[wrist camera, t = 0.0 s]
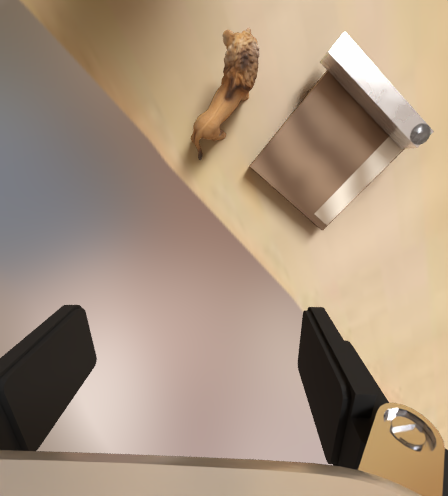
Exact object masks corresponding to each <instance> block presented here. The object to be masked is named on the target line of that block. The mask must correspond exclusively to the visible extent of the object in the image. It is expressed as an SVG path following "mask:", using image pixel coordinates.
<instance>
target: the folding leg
mask: <svg viewBox="0 0 448 496" xmlns="http://www.w3.org/2000/svg"><path fill="white" fill-rule="evenodd" d="M320 63H321V64H322V65H323V66H324V67H325V68H326V69H327V70H328V71H329V73H330V74H331V75H332V76H333V77H334V78H335V79H336V80H337V81H338V82H339V83H340V84H341V85H342V86H343V87H344V88H345V90H346V91H347V92H348V93H349V94H350V95H351V96H352V97H353V98H354V99H355V100H356V101H357V102H358V103H359V104H360V105H361V107H362V108H363V109H364V110H365V111H366V112H367V113H368V114H369V115H370V116H371V117H372V118H373V119H374V120H375V121H376V122H377V124H378V125H379V126H380V127H381V128H382V129H383V130H384V131H385V132H386V133H387V134H388V135H389V136H390V137H391V138H392V139H393V141H394V142H395V143H396V144H397V145H398V146H399V147H400V148H401V149H408V148H417V147H418V146H419V145H420V144H423V143H424V142H426V141H427V139H428V138H429V136H430V135H431V134H432V133H433V132H434V131H433V130H432V129H431V128H430V127H429V126H428V124H427V123H426V122H425V121H424V120H423V119H422V118H421V117H420V115H419V114H418V113H417V112H416V111H415V110H414V109H413V108H412V106H411V105H410V104H409V103H408V102H407V101H406V100H405V99H404V97H403V96H402V95H401V94H400V93H399V92H398V91H397V89H396V88H395V87H394V86H393V85H392V84H391V83H390V82H389V80H388V79H387V78H386V77H385V76H384V75H383V74H382V73H381V71H380V70H379V69H378V68H377V67H376V66H375V65H374V64H373V62H372V61H371V60H370V59H369V58H368V57H367V56H366V55H365V53H364V52H363V51H362V50H361V49H360V48H359V47H358V46H357V44H356V43H355V42H354V41H353V40H352V39H351V38H350V37H349V35H348V34H347V33H346V32H344V33H343V34H342V35H341V36H340V38H339V39H338V40H337V41H336V42H335V43H334V45H333V46H332V47H331V49H330V50H329V51H328V52H327V54H326V55H325V56H324V57H323V59H322V60H321V61H320Z"/></svg>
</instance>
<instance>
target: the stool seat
mask: <svg viewBox="0 0 448 496" xmlns="http://www.w3.org/2000/svg"><path fill="white" fill-rule="evenodd" d="M403 150H404V149H401V148H400V147H399V146H398V145H397V144H396V143H395V142H394V141H393V139H392V138H391V137H390V136H389V135H388V134H387V133H386V132H385V131H384V130H383V129H382V128H381V127H380V126H379V125H378V124H377V122H376V121H375V120H374V119H373V118H372V117H371V116H370V115H369V114H368V113H367V112H366V111H365V110H364V109H363V108H362V107H361V105H360V104H359V103H358V102H357V101H356V100H355V99H354V98H353V97H352V96H351V95H350V94H349V93H348V92H347V91H346V90H345V88H344V87H343V86H342V85H341V84H340V83H339V82H338V81H337V80H336V79H335V78H334V77H333V76H332V75H331V74H330V73H329V71H328V70H327V71H326V72H325V73H324V75H323V76H322V77H321V78H320V80H319V81H318V82H317V83H316V85H315V86H314V87H313V88H312V89H311V91H310V92H309V93H308V94H307V96H306V97H305V98H304V99H303V101H302V102H301V103H300V104H299V106H298V107H297V108H296V109H295V110H294V112H293V113H292V114H291V115H290V117H289V118H288V119H287V120H286V122H285V123H284V124H283V125H282V127H281V128H280V129H279V130H278V131H277V133H276V134H275V135H274V136H273V138H272V139H271V140H270V141H269V143H268V144H267V145H266V146H265V148H264V149H263V150H262V151H261V152H260V154H259V155H258V156H257V157H256V159H255V160H254V161H253V162H252V164H251V165H250V167H251V168H252V169H253V170H254V171H255V172H256V173H258V174H259V175H260V176H261V177H262V178H263V179H264V180H265V181H267V182H268V183H269V184H270V185H271V186H272V187H273V188H275V189H276V190H277V191H278V192H279V193H280V194H281V195H282V196H284V197H285V198H286V199H287V200H288V201H289V202H290V203H291V204H293V205H294V206H295V207H296V208H297V209H298V210H299V211H300V212H302V213H303V214H304V215H305V216H306V217H307V218H308V219H310V220H311V221H312V222H313V223H314V224H315V225H316V226H317V227H319V228H320V229H321V230H324V229H325V228H326V227H327V226H328V225H329V224H330V223H331V222H332V221H333V220H334V219H335V218H336V217H337V216H338V215H339V214H340V213H341V212H342V211H343V210H344V209H345V208H346V207H347V206H348V205H349V204H350V203H351V202H352V201H353V200H354V199H355V198H356V197H357V196H358V195H359V194H360V193H361V192H362V191H363V190H364V189H365V188H366V187H367V186H368V185H369V184H370V183H371V182H372V181H373V180H374V179H375V178H376V177H377V176H378V175H379V174H380V173H381V172H382V171H383V170H384V169H385V168H386V167H387V166H388V165H389V164H390V163H391V162H392V161H393V160H394V159H395V158H396V157H397V156H398V155H399V154H400V153H401V152H402V151H403Z"/></svg>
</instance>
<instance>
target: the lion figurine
mask: <svg viewBox="0 0 448 496" xmlns="http://www.w3.org/2000/svg"><path fill="white" fill-rule="evenodd" d="M223 42H224V44H225V46H226V47H227V51H226V54H225V58H224V63H225V67H224V71H223V73H224V76H223V78H222V83H221V84H222V85H221V86H220V88H219V89H218V90H217V92H216V93H215V95H214V97H213V99H212V102H211V104H210V106H209V108H208V110H207V111H206V112H204V113H203V114H201V115H200V116H199V117H198V118H197V120H196V122H195V123H194V132H193V134H192V136H191V140H192V142H193V143H195V146H196V147H197V150H198V153H199V154H198V158H199V160H201V159H202V150H201V148H200V145H199V140H200V138H204V139H212V140H213V141H215V140H221V139H224V138H225V137H226V133H225V132H224V131H223V130H221V131H220V128H219V127H220V124H221V123H222V122H223V121H225V120H226V119H227V118H228V117H229V116H230V115H231V114H232V112H233V111H234V110H235V109H236V107H237V106H238V104H239V102H240V100H247V99H248V98H249V91H250V90H251V89H252V88H253V86H254V83H255V79H256V77H257V71H258V57H259V46H258V44H257V40H256V38H255V37H253V36H252V35H251V29H250V28H247V30H246V31H243V32H242V33H238V32H237V33H234V32H232V31H230V30H226V31H224V33H223Z"/></svg>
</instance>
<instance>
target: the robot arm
mask: <svg viewBox="0 0 448 496" xmlns="http://www.w3.org/2000/svg"><path fill="white" fill-rule="evenodd" d="M96 359H97V358H96V354H95V350H94V345H93V341H92V337H91V333H90V329H89V325H88V320H87V316H86V312H85V310H84V309H83V308H82V307H81V306H80V305H64V306H62V307H61V308H60V309H59V310H57V311H56V312H55V313H54V314H53V315H52V316H50V317H49V318H48V319H47V320H45V321H44V322H43V323H42V324H41V325H40V326H38V327H37V328H36V329H35V330H34V331H32V332H31V333H30V334H29V335H28V336H26V337H25V338H24V339H23V340H22V341H20V343H18V344H17V345H16V346H14V347H13V348H12V349H11V350H10V351H8V352H7V353H6V354H5V355H4V356H2V357H1V358H0V496H448V450H447V449H445V447H444V441H443V439H442V437H441V435H440V433H439V431H438V430H437V429H436V428H435V426H434V425H433V424H432V423H431V422H430V421H429V420H428V419H427V418H425V417H424V416H423V415H422V414H420V413H418V412H417V411H415V410H414V409H412V408H409V407H407V406H405V405H402V404H397V403H389V402H388V400H387V399H386V397H385V396H384V394H383V393H382V391H381V389H380V388H379V386H378V385H377V383H376V382H375V380H374V379H373V377H372V375H371V374H370V372H369V371H368V369H367V368H366V366H365V365H364V363H363V361H362V360H361V358H360V357H359V355H358V354H357V352H356V350H355V349H354V347H353V346H352V344H351V343H350V342H348V341H344V340H343V338H342V337H341V335H340V333H339V332H338V330H337V329H336V327H335V325H334V324H333V322H332V320H331V319H330V317H329V315H328V314H327V312H326V311H325V309H324V308H323V307H309V308H308V310H307V311H304V312H303V318H302V328H301V337H300V346H299V355H298V370H299V373H300V376H301V380H302V383H303V386H304V389H305V393H306V396H307V398H308V402H309V406H310V409H311V412H312V415H313V418H314V422H315V425H316V428H317V432H318V435H319V438H320V441H321V445H322V448H323V451H324V454H325V457H326V460H327V462H328V464H333V466H332V465H323V464H315V463H303V462H302V463H301V462H286V461H271V460H254V459H230V458H208V457H184V456H159V455H158V456H157V455H132V454H104V453H77V452H75V453H74V452H44V451H36V450H37V449H38V448H39V447H40V445H41V444H42V442H43V441H44V439H45V438H46V437H47V435H48V434H49V432H50V431H51V429H52V428H53V426H54V425H55V423H56V422H57V421H58V419H59V417H60V416H61V415H62V413H63V412H64V410H65V409H66V407H67V406H68V404H69V403H70V402H71V400H72V399H73V397H74V396H75V394H76V393H77V391H78V390H79V388H80V387H81V386H82V384H83V383H84V381H85V380H86V378H87V377H88V375H89V374H90V372H91V371H92V369H93V368H94V366H95V364H96Z"/></svg>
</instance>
